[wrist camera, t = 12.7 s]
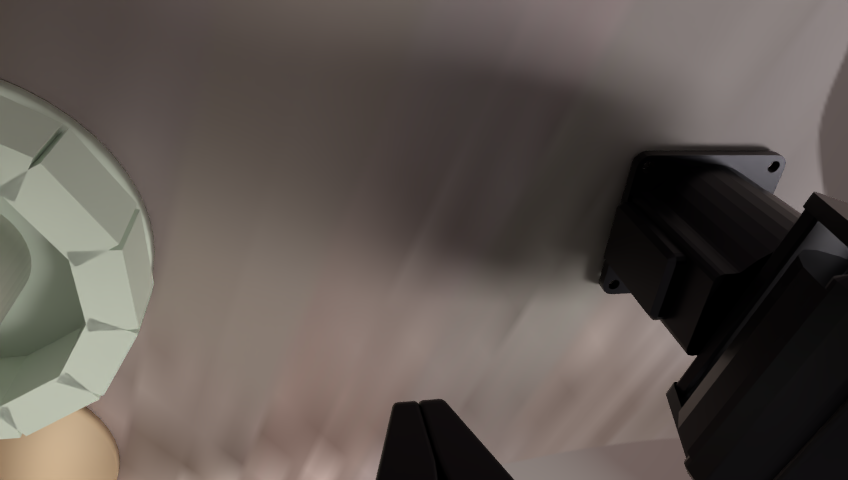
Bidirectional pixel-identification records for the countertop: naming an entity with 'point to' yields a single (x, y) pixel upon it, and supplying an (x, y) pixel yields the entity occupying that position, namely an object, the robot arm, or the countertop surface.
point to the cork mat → (62, 451)
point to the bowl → (67, 264)
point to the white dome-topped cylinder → (12, 265)
